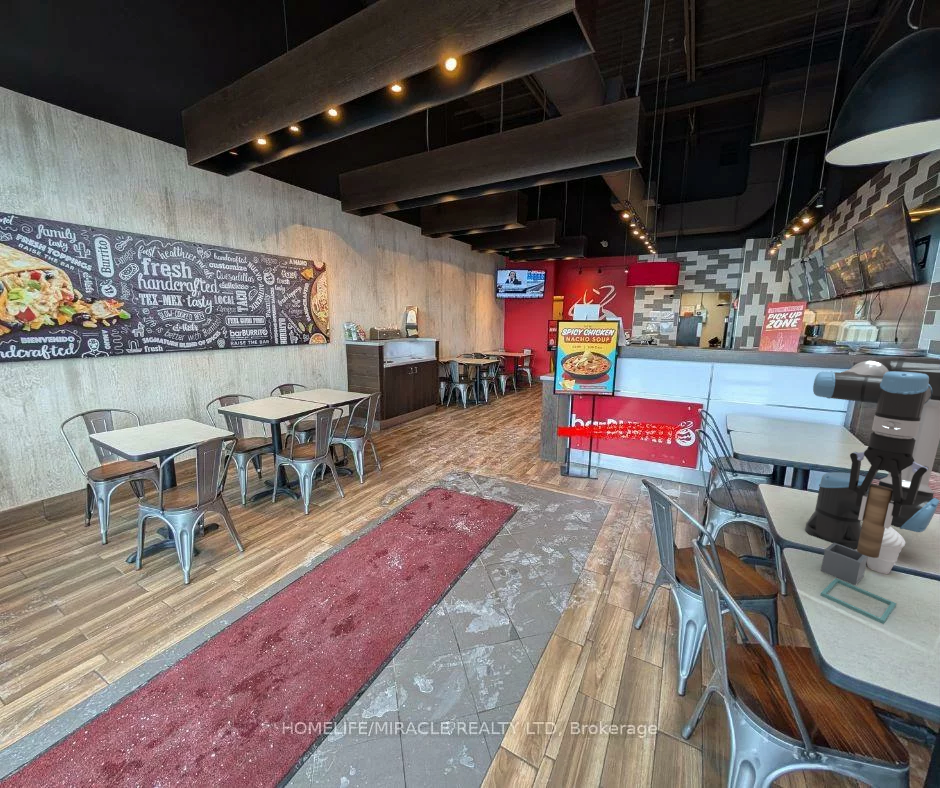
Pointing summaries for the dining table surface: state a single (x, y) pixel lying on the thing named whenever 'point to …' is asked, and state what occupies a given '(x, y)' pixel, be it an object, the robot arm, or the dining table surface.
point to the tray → (878, 619)
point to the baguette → (874, 521)
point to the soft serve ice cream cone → (887, 552)
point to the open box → (844, 563)
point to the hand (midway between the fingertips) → (874, 522)
